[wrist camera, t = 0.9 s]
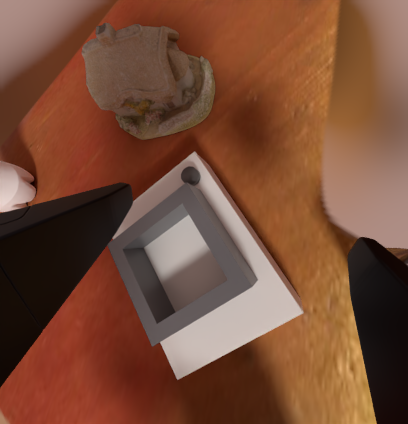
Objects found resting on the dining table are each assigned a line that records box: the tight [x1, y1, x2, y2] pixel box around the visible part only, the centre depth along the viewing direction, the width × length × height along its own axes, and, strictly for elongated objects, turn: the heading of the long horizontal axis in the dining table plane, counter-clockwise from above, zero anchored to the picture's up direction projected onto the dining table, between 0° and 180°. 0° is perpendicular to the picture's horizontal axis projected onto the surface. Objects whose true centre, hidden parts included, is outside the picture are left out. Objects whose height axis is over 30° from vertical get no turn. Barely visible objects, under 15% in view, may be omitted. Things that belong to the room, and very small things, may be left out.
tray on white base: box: [107, 151, 303, 380], centre depth 21 cm, size 16×12×7 cm
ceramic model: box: [82, 23, 215, 140], centre depth 24 cm, size 14×11×10 cm
